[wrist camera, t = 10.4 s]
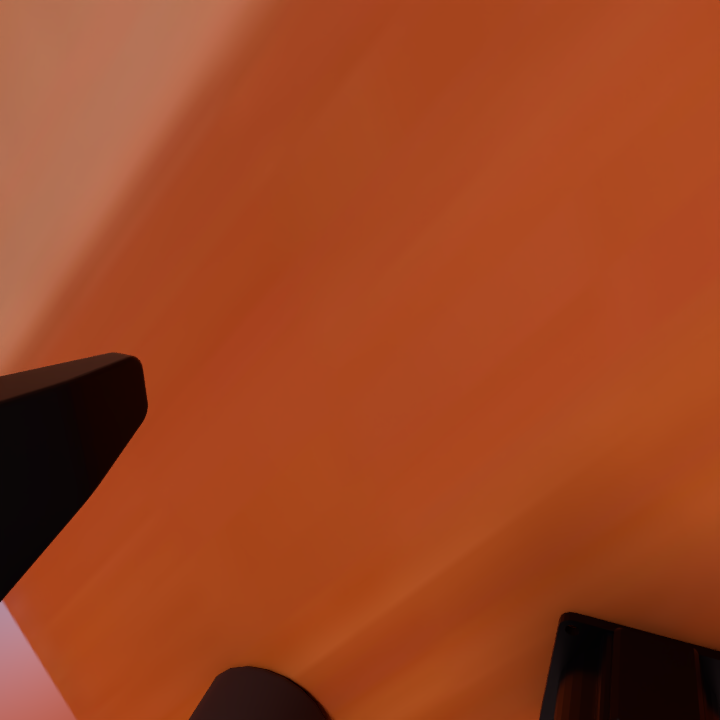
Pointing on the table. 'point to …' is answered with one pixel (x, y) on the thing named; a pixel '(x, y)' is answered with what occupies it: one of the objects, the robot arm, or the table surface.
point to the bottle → (255, 698)
